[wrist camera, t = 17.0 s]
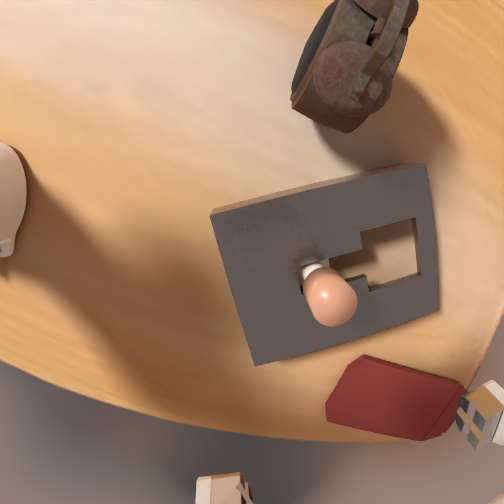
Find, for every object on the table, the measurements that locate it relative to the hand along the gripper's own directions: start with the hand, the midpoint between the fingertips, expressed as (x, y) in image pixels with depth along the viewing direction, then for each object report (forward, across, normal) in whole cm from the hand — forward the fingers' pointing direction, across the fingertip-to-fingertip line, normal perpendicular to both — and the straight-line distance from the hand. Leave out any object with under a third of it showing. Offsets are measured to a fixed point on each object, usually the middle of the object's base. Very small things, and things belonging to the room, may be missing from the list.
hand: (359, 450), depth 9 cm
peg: (+30, -4, +4) cm, 30 cm away
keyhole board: (+30, -7, +4) cm, 31 cm away
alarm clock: (+30, -11, -18) cm, 36 cm away
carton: (+31, -5, +23) cm, 39 cm away
